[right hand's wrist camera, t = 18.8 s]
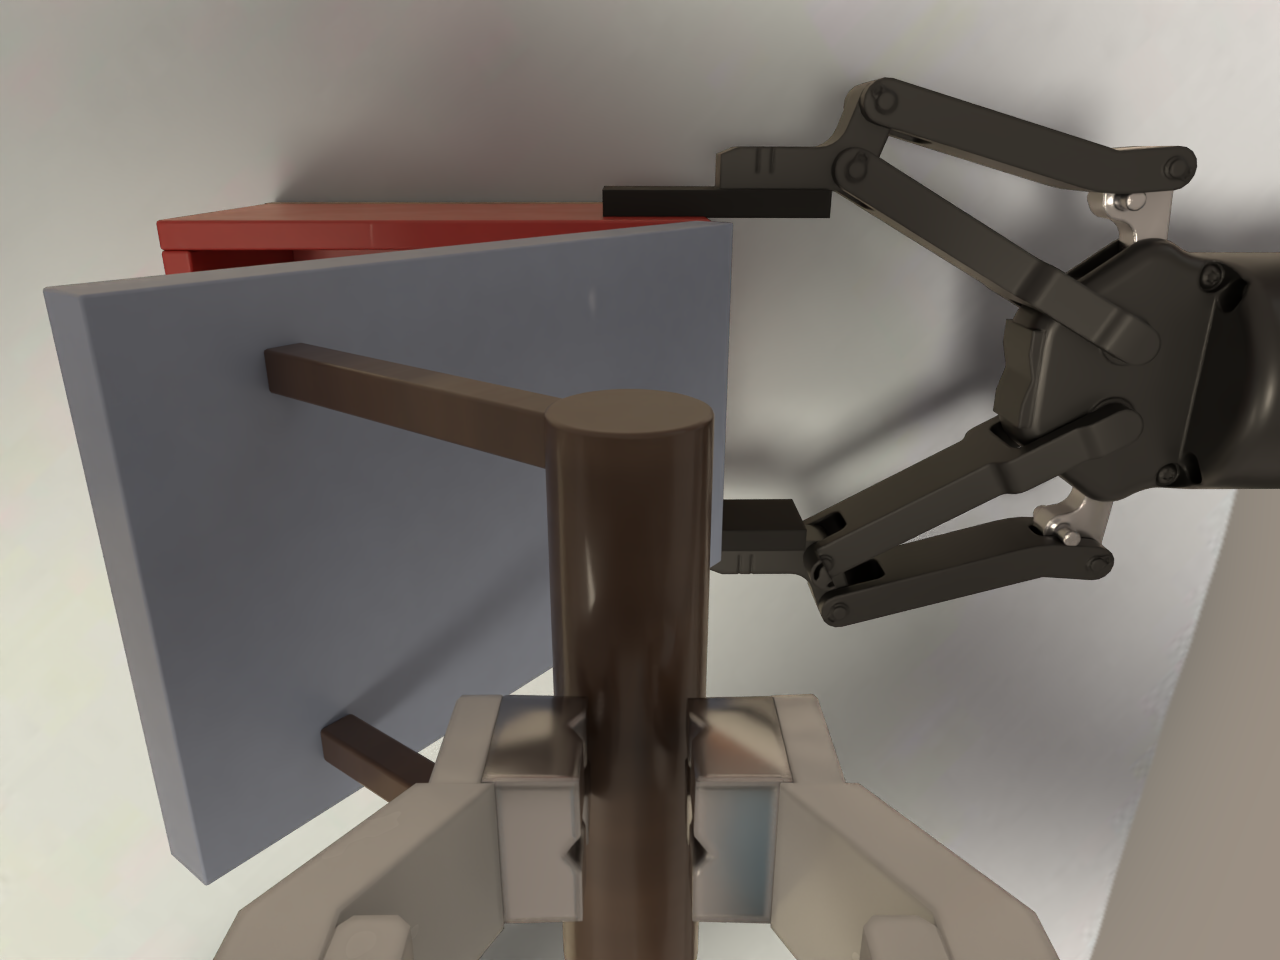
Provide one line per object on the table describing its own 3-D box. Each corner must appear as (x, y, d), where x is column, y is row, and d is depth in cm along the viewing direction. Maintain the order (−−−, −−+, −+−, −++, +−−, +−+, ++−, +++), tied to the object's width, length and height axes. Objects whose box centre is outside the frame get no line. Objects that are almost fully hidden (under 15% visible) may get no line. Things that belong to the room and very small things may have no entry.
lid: (169, 855, 16) (551, 1204, 10) (40, 287, 12) (510, 388, 7) (688, 550, 27) (986, 643, 22) (695, 220, 24) (1048, 239, 19)
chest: (307, 458, 36) (213, 552, 27) (272, 202, 32) (153, 220, 24) (682, 455, 36) (703, 547, 28) (686, 202, 33) (712, 219, 24)
